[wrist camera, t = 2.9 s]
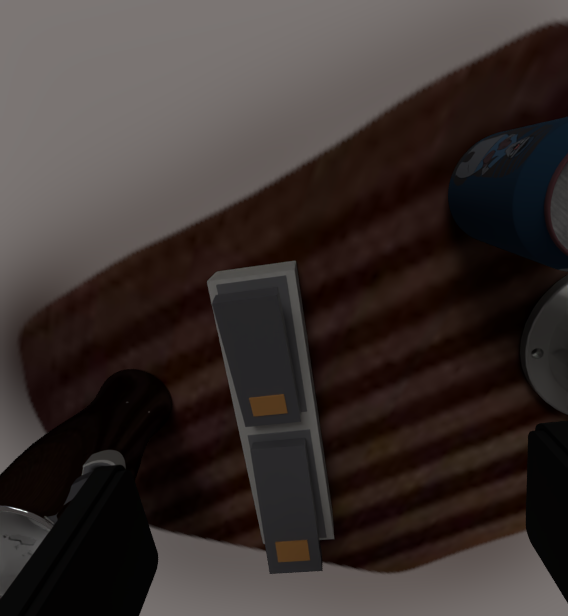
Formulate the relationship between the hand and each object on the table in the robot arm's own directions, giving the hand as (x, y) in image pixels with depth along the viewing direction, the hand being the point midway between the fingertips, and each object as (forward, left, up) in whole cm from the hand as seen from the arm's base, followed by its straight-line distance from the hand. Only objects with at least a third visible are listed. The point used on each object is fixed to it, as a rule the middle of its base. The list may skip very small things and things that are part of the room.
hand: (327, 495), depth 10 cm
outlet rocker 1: (+4, +4, -17) cm, 18 cm away
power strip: (+4, +10, -22) cm, 24 cm away
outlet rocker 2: (+4, +16, -17) cm, 24 cm away
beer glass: (+16, +9, -22) cm, 29 cm away
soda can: (-13, -4, -22) cm, 26 cm away
